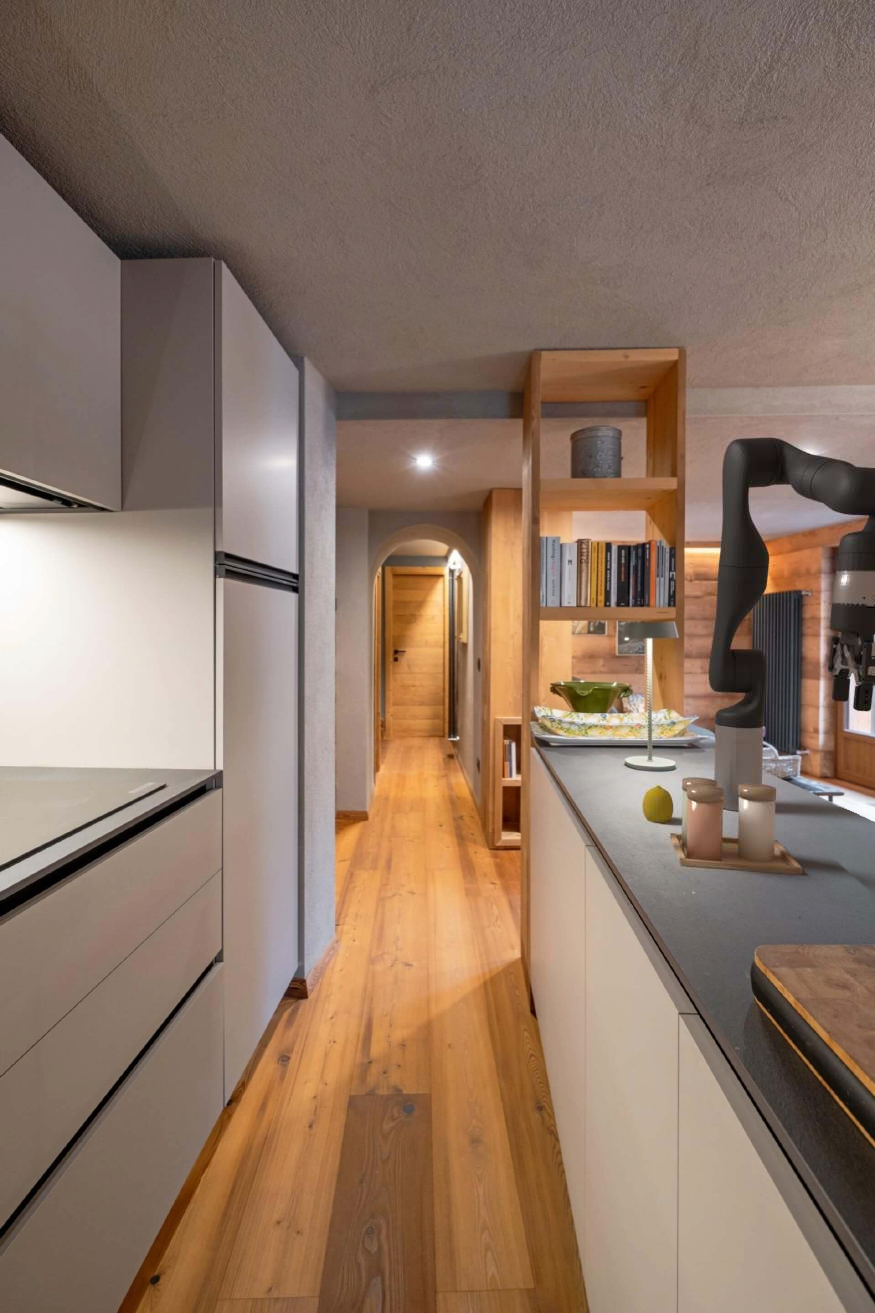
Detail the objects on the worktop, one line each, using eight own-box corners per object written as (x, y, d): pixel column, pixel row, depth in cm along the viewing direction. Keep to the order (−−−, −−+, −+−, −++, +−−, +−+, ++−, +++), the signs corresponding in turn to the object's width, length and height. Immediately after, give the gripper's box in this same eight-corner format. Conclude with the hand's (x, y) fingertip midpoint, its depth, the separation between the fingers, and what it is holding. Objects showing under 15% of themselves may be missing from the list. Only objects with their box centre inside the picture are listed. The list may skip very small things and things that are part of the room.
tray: (669, 846, 116) (670, 833, 116) (776, 853, 113) (777, 840, 113) (680, 875, 103) (680, 860, 103) (802, 884, 99) (803, 869, 99)
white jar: (733, 849, 110) (735, 782, 110) (769, 851, 109) (771, 784, 108) (741, 860, 105) (742, 790, 104) (778, 863, 104) (780, 792, 103)
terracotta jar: (683, 851, 109) (684, 783, 109) (719, 853, 108) (720, 785, 108) (688, 862, 104) (689, 791, 103) (725, 865, 103) (727, 793, 102)
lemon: (675, 832, 124) (675, 789, 124) (643, 831, 125) (644, 788, 125) (670, 824, 130) (671, 783, 129) (640, 822, 131) (641, 781, 130)
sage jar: (679, 841, 115) (680, 776, 114) (712, 843, 113) (714, 778, 113) (683, 851, 109) (684, 783, 109) (719, 853, 108) (720, 785, 108)
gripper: (817, 599, 111) (808, 697, 113) (852, 601, 97) (841, 712, 99) (867, 601, 110) (858, 699, 111) (910, 603, 96) (898, 716, 97)
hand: (850, 705), depth 105 cm, fingers open, 8 cm apart
